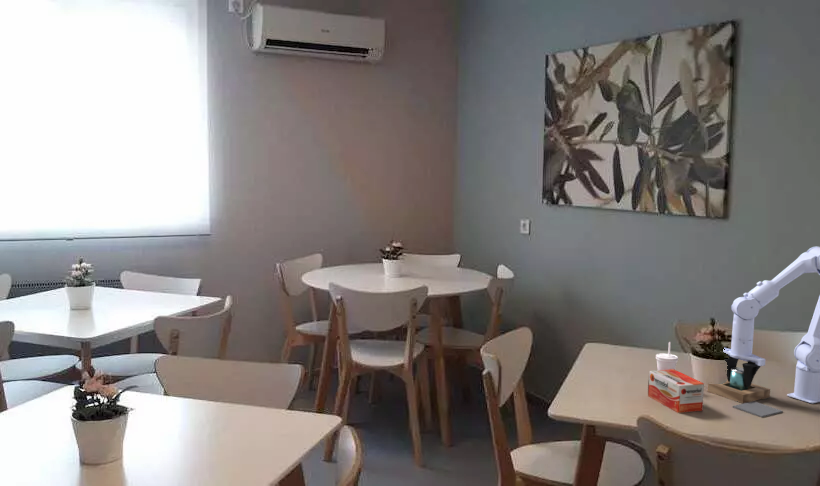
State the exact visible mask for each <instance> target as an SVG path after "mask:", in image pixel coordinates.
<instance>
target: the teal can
mask: <svg viewBox="0 0 820 486" xmlns="http://www.w3.org/2000/svg"><path fill="white" fill-rule="evenodd" d="M730 387H731V388H734V389H737V390H740V391H743V390H748V387H744V370H743V367H739V366H738V367H737V366H736V367H733V368H731V373H730Z"/></svg>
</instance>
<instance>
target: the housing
mask: <svg viewBox="0 0 820 486" xmlns="http://www.w3.org/2000/svg"><path fill="white" fill-rule="evenodd" d="M726 380H727V381H726V382H725V383H723V384H707V392H708V393H711V394H715V395H716V396H720V397H723V398H726V399H728V400H731V401H734V402H737V401H738V403H740V404H744V403H748V402H753V401H755V402H757V401H759V400H764V399H768V398H770V396H771V388H768V387H766V386H765V387H764V386H762V385H758V384H755V383H753V382H752V383H751V386H750V387H748V390H743V391H740V390H737V389H734V388H731V387H730V382H728V379H726Z"/></svg>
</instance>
